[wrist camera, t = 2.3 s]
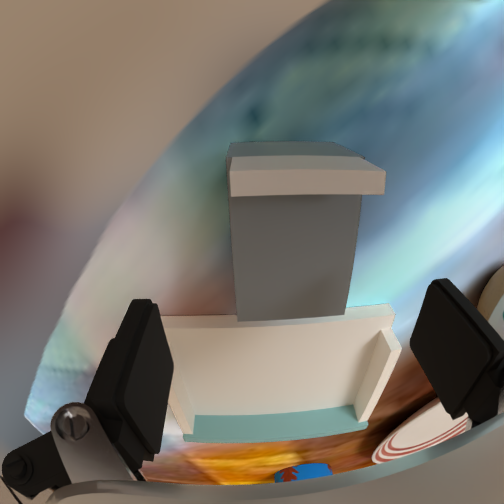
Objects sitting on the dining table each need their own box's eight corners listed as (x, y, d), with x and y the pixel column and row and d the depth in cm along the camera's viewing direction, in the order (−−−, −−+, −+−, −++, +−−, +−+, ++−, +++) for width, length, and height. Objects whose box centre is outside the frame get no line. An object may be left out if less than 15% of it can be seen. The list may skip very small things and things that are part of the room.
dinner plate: (509, 383, 36) (516, 394, 33) (403, 456, 45) (407, 468, 42) (494, 330, 27) (506, 347, 24) (335, 441, 36) (339, 459, 33)
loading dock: (158, 315, 23) (145, 356, 19) (388, 303, 23) (410, 339, 19) (188, 408, 29) (184, 441, 25) (356, 397, 29) (365, 428, 25)
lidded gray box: (232, 138, 16) (221, 171, 9) (324, 137, 17) (392, 172, 9) (238, 258, 20) (237, 359, 12) (318, 254, 20) (358, 349, 12)
